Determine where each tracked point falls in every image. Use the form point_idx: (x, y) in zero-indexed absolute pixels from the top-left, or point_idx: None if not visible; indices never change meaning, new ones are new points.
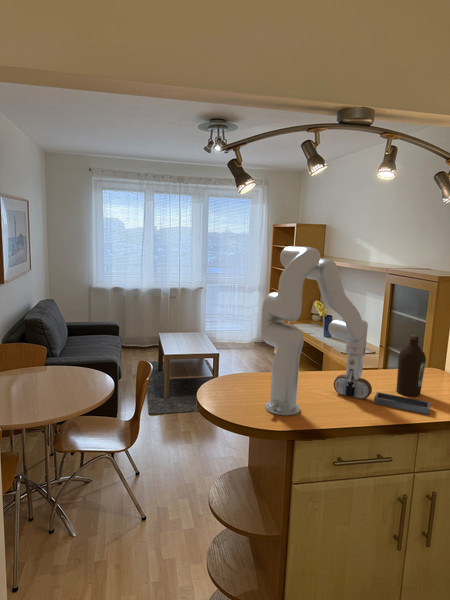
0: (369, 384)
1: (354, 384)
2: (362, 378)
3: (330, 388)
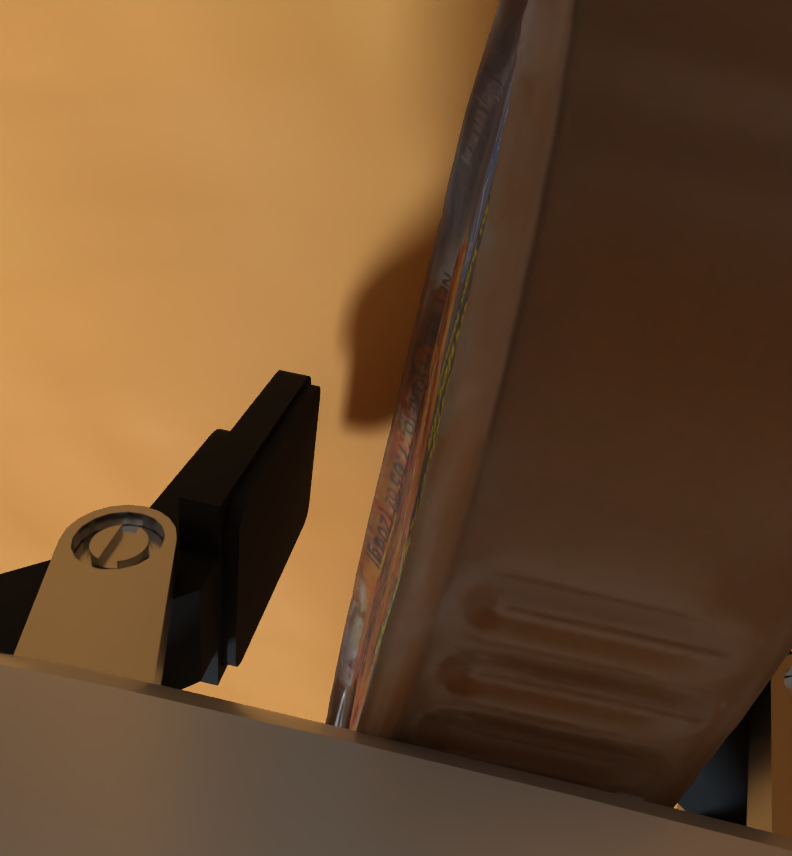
0: (654, 42)
1: (774, 717)
2: (413, 614)
3: (225, 696)
